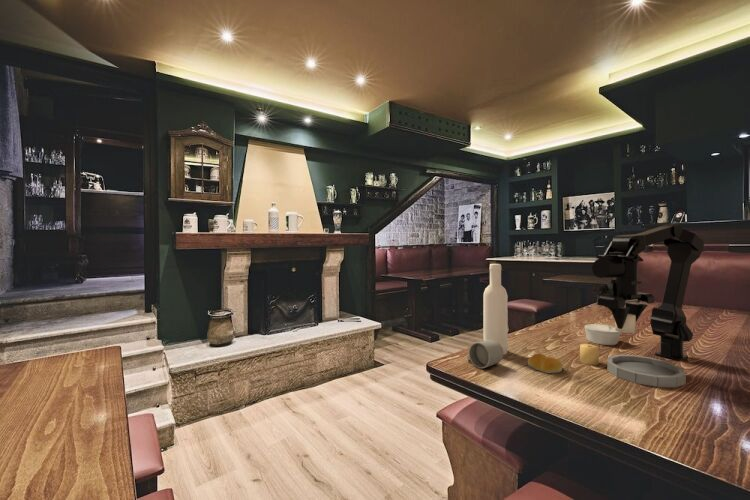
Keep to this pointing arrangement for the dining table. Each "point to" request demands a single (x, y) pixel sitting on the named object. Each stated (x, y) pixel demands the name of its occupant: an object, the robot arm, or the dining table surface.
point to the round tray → (646, 371)
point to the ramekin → (602, 334)
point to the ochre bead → (589, 354)
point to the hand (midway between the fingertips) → (625, 327)
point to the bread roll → (545, 363)
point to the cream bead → (628, 324)
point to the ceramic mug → (485, 353)
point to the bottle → (495, 310)
